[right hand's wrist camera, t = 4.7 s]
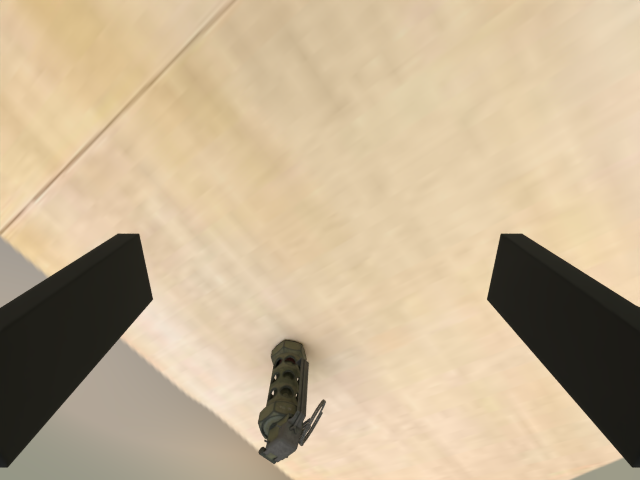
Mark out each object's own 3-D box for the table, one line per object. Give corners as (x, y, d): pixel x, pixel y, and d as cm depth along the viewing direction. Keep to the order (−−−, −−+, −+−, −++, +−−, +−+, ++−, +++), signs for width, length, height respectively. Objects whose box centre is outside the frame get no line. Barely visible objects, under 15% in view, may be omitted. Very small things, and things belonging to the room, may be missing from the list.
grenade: (291, 380, 50) (280, 485, 36) (262, 357, 49) (239, 458, 35) (334, 346, 48) (340, 444, 34) (305, 321, 46) (299, 413, 33)
